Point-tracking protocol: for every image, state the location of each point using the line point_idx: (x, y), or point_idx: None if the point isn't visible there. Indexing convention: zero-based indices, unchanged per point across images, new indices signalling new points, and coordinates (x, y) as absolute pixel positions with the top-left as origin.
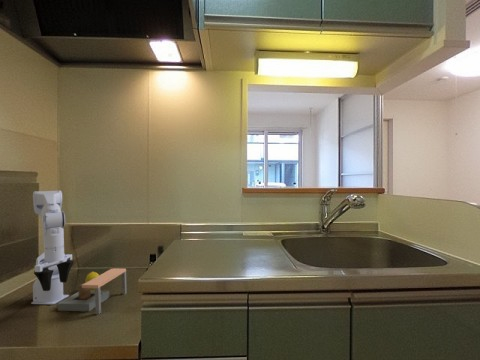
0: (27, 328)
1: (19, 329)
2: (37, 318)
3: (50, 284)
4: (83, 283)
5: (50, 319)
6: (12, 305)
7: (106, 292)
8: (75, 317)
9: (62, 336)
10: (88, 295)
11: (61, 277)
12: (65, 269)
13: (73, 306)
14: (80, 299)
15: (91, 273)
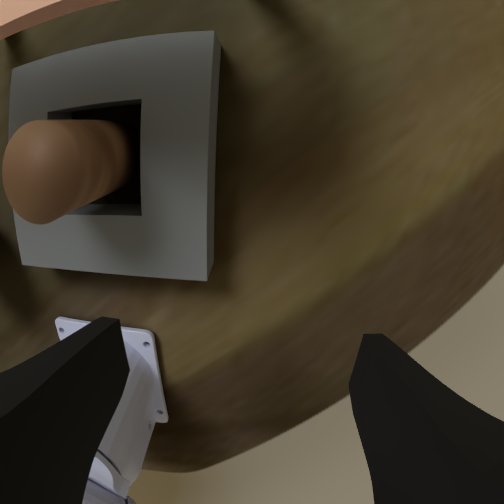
0: (409, 276)
1: (411, 304)
2: (310, 306)
3: (395, 366)
4: (15, 207)
5: (327, 225)
6: (189, 458)
7: (31, 62)
8: (303, 82)
9: (477, 56)
10: (90, 120)
11: (106, 397)
12: (36, 436)
13: (210, 155)
14: (126, 162)
15: None
